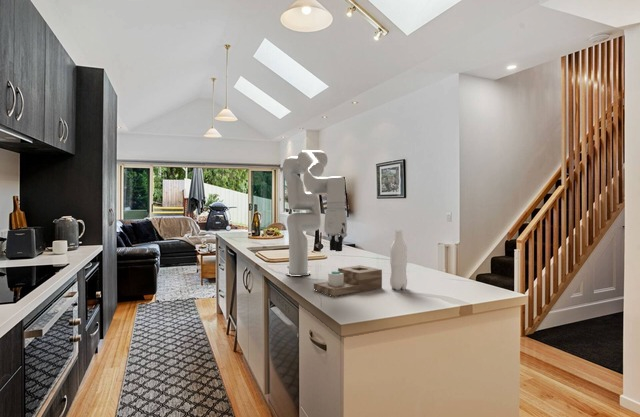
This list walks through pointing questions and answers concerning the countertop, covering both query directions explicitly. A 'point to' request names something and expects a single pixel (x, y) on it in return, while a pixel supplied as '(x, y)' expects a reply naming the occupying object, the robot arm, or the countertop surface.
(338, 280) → the plug
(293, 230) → the robot arm
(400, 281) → the water bottle
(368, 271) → the wooden stepped block
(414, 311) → the countertop surface
